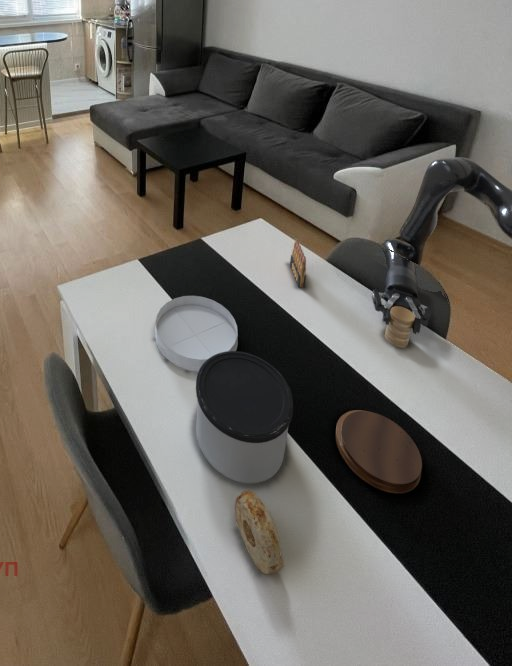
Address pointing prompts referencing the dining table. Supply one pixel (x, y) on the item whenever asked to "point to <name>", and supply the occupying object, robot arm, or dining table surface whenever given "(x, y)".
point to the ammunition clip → (298, 264)
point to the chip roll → (399, 326)
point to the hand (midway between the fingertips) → (401, 326)
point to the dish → (194, 331)
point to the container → (242, 415)
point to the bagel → (258, 532)
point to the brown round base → (379, 451)
